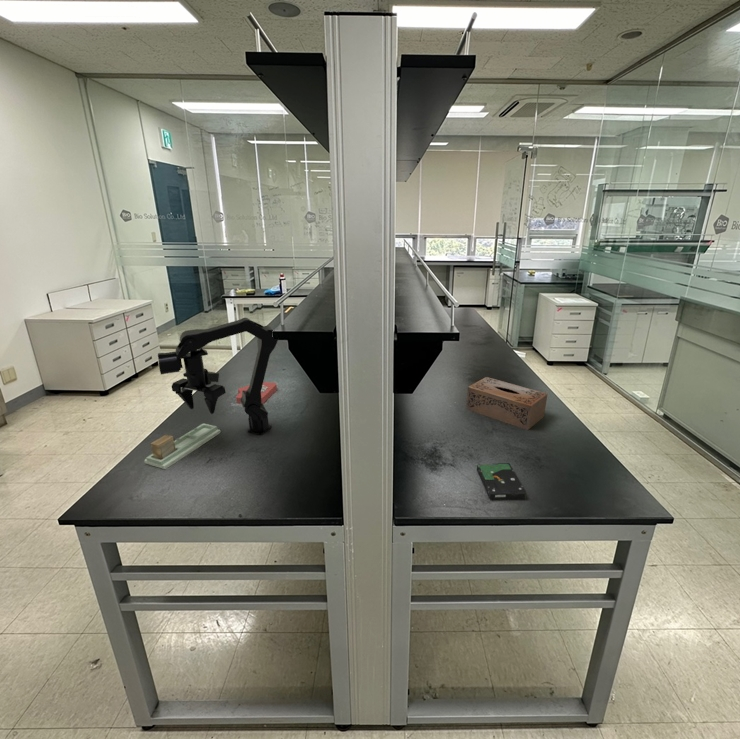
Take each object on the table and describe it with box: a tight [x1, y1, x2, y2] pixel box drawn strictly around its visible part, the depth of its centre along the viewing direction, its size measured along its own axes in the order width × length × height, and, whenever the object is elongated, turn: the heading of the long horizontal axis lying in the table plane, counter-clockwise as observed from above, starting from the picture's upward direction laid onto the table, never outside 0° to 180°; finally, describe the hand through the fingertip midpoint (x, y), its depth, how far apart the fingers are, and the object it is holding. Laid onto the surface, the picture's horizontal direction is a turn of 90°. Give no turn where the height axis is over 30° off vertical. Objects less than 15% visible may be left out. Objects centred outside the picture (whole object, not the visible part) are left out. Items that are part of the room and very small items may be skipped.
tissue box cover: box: [465, 376, 548, 431], centre depth 164 cm, size 26×14×10 cm, turn 46°
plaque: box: [235, 381, 278, 405], centre depth 184 cm, size 18×4×15 cm
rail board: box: [143, 423, 221, 470], centre depth 145 cm, size 9×25×3 cm, turn 156°
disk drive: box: [476, 462, 527, 501], centre depth 123 cm, size 10×3×15 cm
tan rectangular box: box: [150, 434, 176, 460], centre depth 137 cm, size 3×6×6 cm, turn 156°
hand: (202, 411), depth 144 cm, fingers open, 9 cm apart
